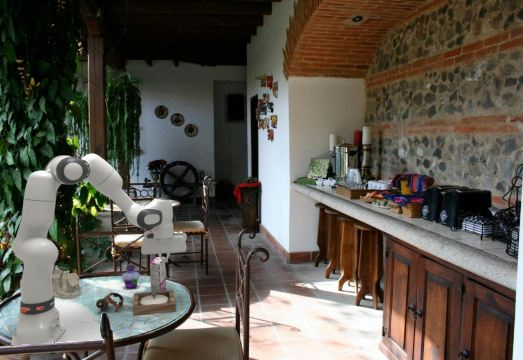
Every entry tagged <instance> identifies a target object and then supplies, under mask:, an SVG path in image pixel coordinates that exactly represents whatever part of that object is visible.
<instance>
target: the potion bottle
mask: <svg viewBox="0 0 523 360" xmlns="http://www.w3.org/2000/svg"><path fill="white" fill-rule="evenodd" d="M125 270H126V271H127V272H124V273H122V274H121V277H122V280H123V282H124V286H125V289H126V290H134V289H136V288H137V286H138V282H139V279H140V274H141V273H139V272H138V271H135V270H136V265H134V263H128V264H127V266H126V267H125Z"/></svg>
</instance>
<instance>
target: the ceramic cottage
mask: <svg viewBox="0 0 523 360" xmlns="http://www.w3.org/2000/svg"><path fill="white" fill-rule="evenodd" d="M52 285H53V296H54V299H55V298H56V299H60V300H72V299H76V298H78V297H80V296H82V295H83V286H81V285H80V276H78V274H77V273H76V272H75V273H73V272H71V273H70V270H67V271H65V270H61V269H60V268H59V267H58V264H57V265H54V269H53V275H52Z"/></svg>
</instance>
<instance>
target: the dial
mask: <svg viewBox="0 0 523 360" xmlns="http://www.w3.org/2000/svg"><path fill="white" fill-rule="evenodd" d="M161 303H168V298H167V297H166V296H164V295H156V285H152V295H150V296H146V297H144V298H142V299H141V305H150V304H161Z"/></svg>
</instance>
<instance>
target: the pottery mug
mask: <svg viewBox="0 0 523 360" xmlns="http://www.w3.org/2000/svg"><path fill="white" fill-rule="evenodd" d="M111 296H113V298H119V301H117V300H114V299H113V298H112V297H111ZM124 298H125V297H123V295H122V294H120V293H118V292H110V293H108V294H107V295H105V296H104V297H103V298H99V299H97V301H96V303H95V306H96V307H97V309H99V310H100V311H104V309H105V307H108V306H109V304H110V305H112V306H113V307H115V309H114V313H115V312H118V311H120V309H122V307H123V306H124V301H125V299H124Z"/></svg>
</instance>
